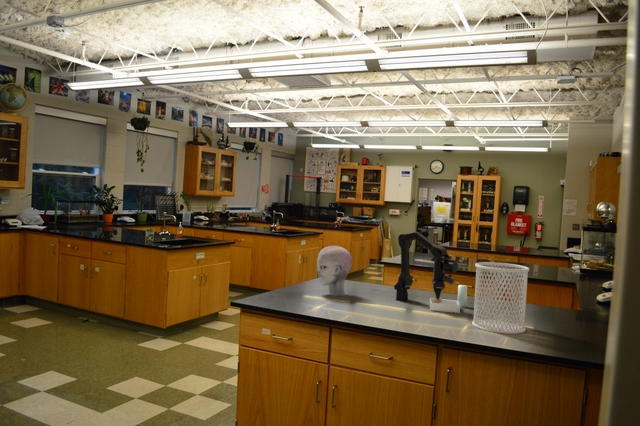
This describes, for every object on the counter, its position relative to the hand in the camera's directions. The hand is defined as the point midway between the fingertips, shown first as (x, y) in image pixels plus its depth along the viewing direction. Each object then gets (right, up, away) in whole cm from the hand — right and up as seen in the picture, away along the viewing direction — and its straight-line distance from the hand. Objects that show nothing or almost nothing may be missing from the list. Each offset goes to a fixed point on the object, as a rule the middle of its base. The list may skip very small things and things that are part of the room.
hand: (437, 297), depth 262 cm
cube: (0, -5, 0) cm, 5 cm away
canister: (+16, -7, +8) cm, 19 cm away
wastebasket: (+21, -8, -34) cm, 41 cm away
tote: (+4, -6, 0) cm, 7 cm away
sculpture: (-58, -3, +26) cm, 64 cm away
